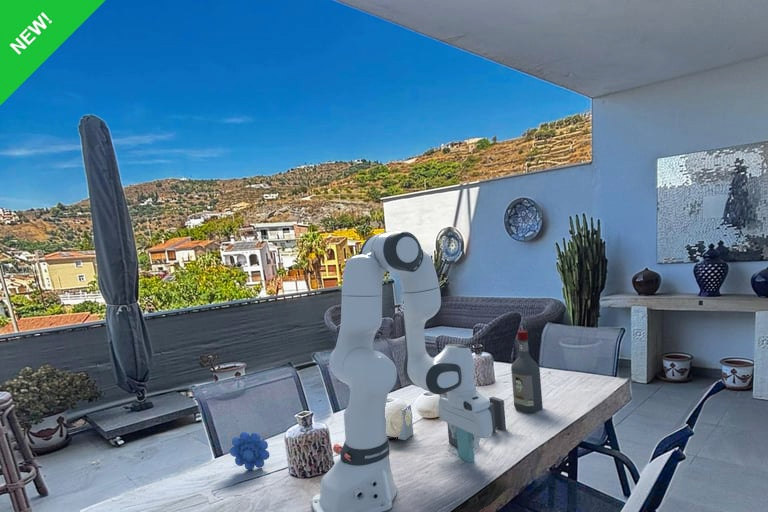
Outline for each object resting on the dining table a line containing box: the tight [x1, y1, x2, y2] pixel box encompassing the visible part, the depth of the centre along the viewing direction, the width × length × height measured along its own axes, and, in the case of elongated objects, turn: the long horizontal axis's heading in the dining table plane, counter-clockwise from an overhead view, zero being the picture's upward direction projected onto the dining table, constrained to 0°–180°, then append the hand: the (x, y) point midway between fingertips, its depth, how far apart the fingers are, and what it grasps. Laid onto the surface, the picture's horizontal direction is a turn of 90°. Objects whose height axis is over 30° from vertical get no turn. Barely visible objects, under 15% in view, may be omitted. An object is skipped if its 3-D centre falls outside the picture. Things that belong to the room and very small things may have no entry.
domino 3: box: [488, 403, 497, 435], centre depth 141 cm, size 2×5×10 cm, turn 32°
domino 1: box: [446, 422, 458, 448], centre depth 133 cm, size 2×5×10 cm, turn 32°
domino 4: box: [488, 396, 507, 431], centre depth 144 cm, size 2×5×10 cm, turn 32°
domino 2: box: [456, 427, 475, 464], centre depth 124 cm, size 2×5×10 cm, turn 32°
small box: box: [398, 403, 414, 441], centre depth 143 cm, size 8×6×10 cm
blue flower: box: [229, 431, 270, 471], centre depth 126 cm, size 12×7×12 cm, turn 100°
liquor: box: [510, 330, 544, 414], centre depth 159 cm, size 9×9×30 cm
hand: (465, 442), depth 124 cm, fingers open, 7 cm apart
